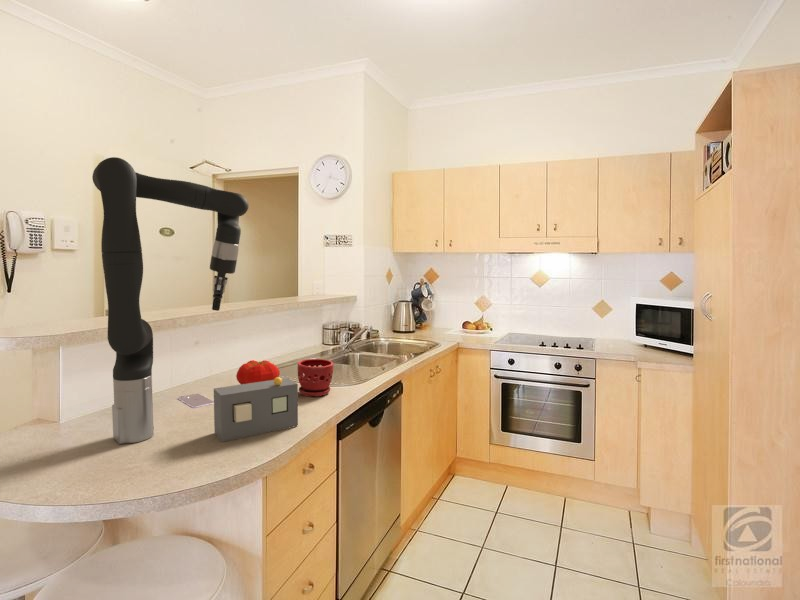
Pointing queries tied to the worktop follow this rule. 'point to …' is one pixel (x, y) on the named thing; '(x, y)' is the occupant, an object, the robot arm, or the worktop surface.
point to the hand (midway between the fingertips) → (215, 309)
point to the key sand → (242, 412)
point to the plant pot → (315, 376)
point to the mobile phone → (196, 400)
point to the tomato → (257, 372)
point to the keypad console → (255, 408)
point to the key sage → (279, 404)
